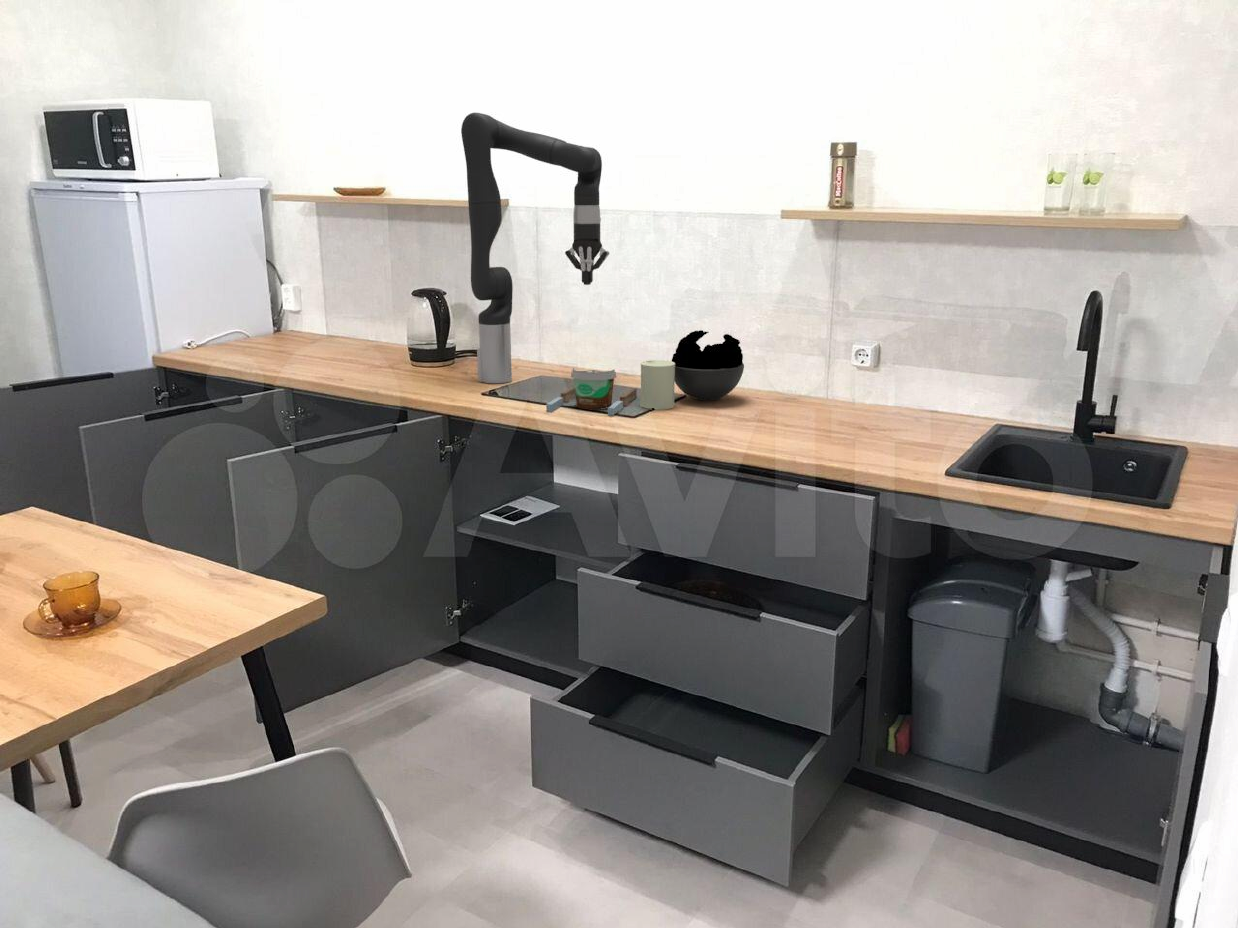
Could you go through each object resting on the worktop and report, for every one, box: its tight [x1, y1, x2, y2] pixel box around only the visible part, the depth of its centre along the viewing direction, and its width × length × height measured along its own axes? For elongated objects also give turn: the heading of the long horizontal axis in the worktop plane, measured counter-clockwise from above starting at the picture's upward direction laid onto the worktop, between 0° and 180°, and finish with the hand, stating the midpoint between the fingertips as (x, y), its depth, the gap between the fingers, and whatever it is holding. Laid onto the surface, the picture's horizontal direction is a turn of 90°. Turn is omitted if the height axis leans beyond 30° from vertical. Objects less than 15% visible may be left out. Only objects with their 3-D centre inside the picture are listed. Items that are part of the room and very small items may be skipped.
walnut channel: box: [560, 384, 638, 407], centre depth 269 cm, size 18×12×2 cm, turn 75°
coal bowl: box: [671, 330, 745, 401], centre depth 267 cm, size 20×20×19 cm
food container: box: [570, 367, 617, 410], centre depth 258 cm, size 12×6×10 cm, turn 75°
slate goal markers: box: [545, 396, 624, 417], centre depth 257 cm, size 18×9×2 cm, turn 75°
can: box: [639, 359, 676, 411], centre depth 260 cm, size 9×9×12 cm
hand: (587, 284), depth 281 cm, fingers closed
